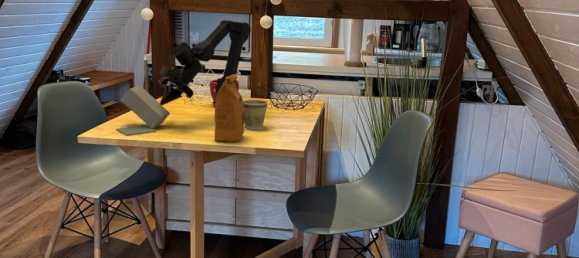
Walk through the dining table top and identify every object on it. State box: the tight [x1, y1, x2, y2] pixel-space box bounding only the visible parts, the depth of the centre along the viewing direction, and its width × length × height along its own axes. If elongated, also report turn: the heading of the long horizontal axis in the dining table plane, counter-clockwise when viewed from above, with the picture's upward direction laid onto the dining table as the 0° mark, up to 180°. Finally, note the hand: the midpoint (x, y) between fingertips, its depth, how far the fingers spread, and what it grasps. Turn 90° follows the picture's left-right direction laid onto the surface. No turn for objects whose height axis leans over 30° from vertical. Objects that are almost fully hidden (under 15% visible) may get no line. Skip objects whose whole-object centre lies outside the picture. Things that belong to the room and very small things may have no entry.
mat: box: [115, 125, 157, 137], centre depth 187 cm, size 11×10×1 cm
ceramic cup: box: [243, 99, 268, 131], centre depth 197 cm, size 13×10×10 cm
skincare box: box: [120, 85, 171, 129], centre depth 192 cm, size 8×7×16 cm
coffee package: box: [214, 74, 245, 142], centre depth 178 cm, size 10×12×22 cm
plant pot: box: [209, 78, 240, 107], centre depth 235 cm, size 13×13×12 cm
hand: (160, 104), depth 190 cm, fingers closed
